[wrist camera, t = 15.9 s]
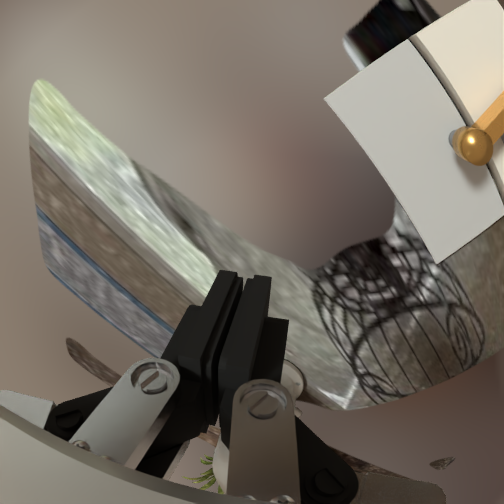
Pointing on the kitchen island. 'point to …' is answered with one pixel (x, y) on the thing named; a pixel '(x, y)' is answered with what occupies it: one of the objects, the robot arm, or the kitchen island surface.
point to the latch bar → (481, 135)
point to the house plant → (210, 473)
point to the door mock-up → (433, 123)
